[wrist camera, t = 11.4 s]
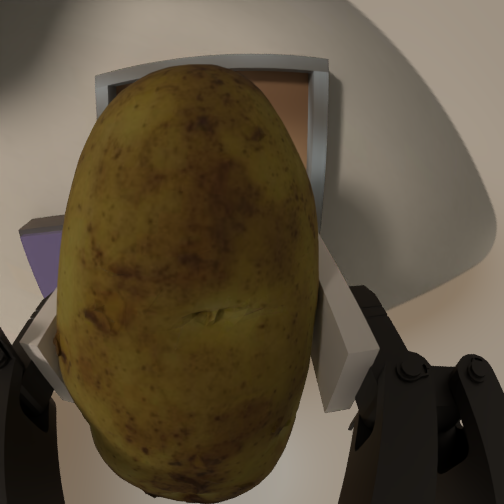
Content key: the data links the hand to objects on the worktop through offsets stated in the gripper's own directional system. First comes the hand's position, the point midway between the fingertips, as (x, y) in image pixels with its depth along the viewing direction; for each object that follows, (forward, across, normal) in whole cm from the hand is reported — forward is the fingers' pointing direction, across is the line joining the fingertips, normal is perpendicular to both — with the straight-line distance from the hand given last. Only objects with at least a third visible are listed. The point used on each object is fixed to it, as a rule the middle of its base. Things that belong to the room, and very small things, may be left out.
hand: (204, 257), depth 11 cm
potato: (-1, 0, 0) cm, 1 cm away
